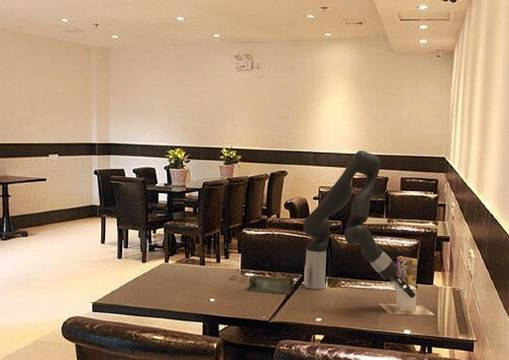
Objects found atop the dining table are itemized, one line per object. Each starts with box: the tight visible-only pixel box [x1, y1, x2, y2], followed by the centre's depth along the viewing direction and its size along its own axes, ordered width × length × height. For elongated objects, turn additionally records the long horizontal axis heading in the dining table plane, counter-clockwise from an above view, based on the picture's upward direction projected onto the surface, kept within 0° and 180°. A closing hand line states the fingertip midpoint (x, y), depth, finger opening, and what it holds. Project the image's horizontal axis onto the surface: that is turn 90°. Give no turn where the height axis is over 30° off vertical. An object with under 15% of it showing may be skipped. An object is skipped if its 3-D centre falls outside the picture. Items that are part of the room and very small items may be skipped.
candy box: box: [394, 255, 418, 289], centre depth 273 cm, size 9×4×15 cm, turn 39°
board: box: [379, 303, 435, 316], centre depth 235 cm, size 18×15×1 cm
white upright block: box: [395, 285, 417, 311], centre depth 235 cm, size 6×6×9 cm
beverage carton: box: [248, 274, 295, 295], centre depth 260 cm, size 8×19×7 cm, turn 75°
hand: (410, 294), depth 235 cm, fingers open, 8 cm apart
